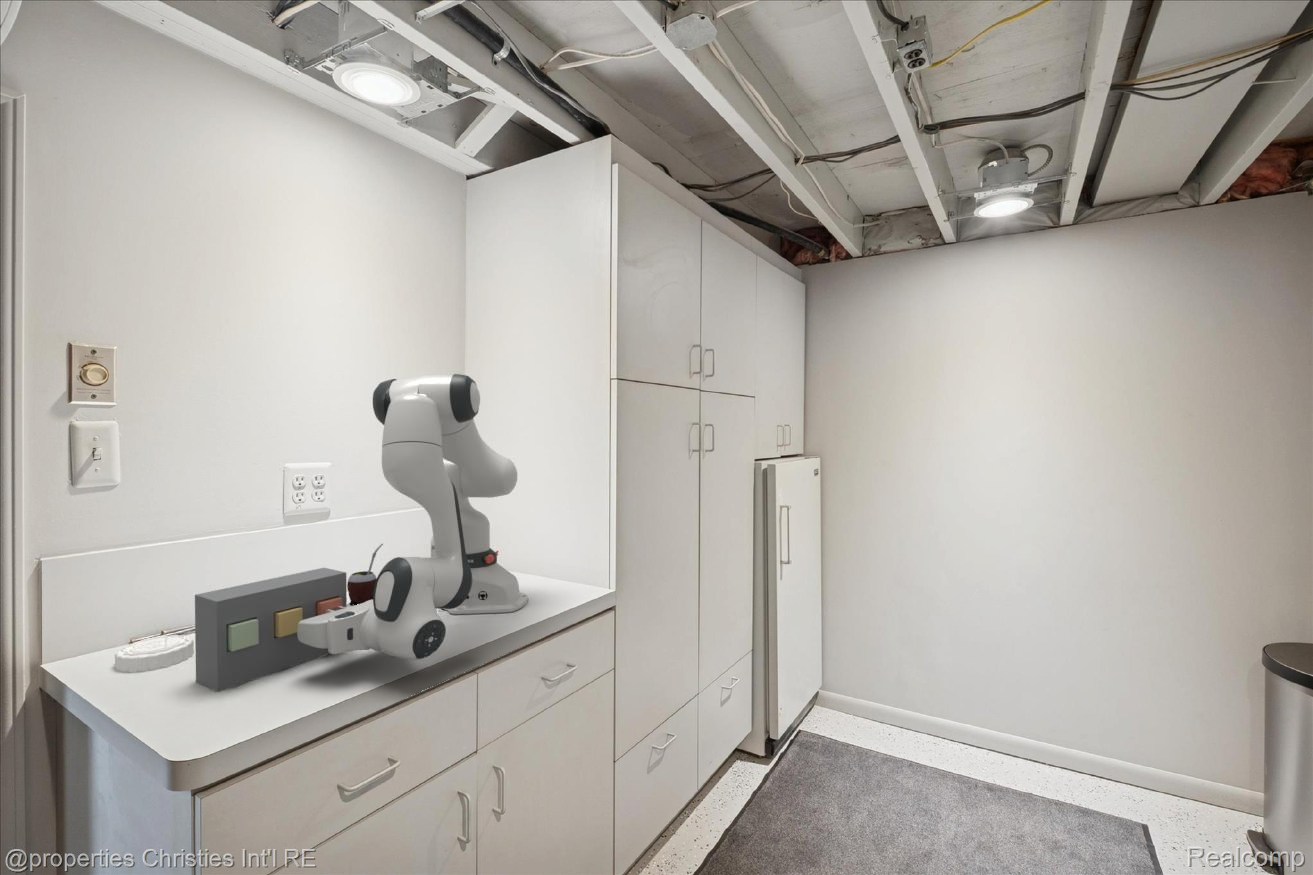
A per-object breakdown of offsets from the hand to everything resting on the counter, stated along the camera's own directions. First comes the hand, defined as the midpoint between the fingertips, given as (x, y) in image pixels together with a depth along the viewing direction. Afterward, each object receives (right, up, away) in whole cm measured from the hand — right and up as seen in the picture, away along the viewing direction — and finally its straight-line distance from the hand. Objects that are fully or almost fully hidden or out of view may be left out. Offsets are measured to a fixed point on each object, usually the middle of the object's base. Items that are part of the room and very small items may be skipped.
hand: (332, 611), depth 122 cm
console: (-9, -9, -4) cm, 13 cm away
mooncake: (-34, -9, -3) cm, 35 cm away
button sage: (-10, -2, -13) cm, 16 cm away
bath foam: (+2, -8, +56) cm, 57 cm away
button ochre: (-6, -2, -6) cm, 9 cm away
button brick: (-1, -2, +1) cm, 3 cm away
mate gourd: (-11, -8, +35) cm, 38 cm away
